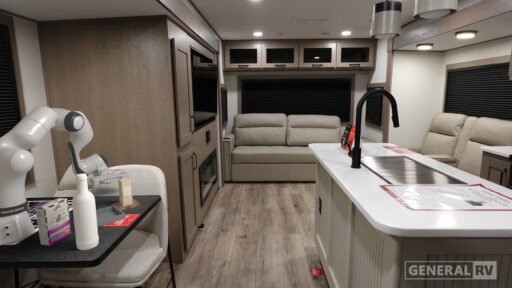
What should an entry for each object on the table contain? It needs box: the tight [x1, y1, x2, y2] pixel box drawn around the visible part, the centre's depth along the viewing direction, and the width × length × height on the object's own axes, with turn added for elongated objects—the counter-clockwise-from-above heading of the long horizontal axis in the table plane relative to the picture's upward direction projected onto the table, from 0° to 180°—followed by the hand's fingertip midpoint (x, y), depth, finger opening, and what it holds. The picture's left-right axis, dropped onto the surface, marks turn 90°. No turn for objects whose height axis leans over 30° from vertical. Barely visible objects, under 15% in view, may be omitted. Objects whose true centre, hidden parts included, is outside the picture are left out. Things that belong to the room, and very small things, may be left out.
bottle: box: [71, 174, 100, 251], centre depth 115 cm, size 8×8×30 cm
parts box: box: [117, 177, 133, 207], centre depth 158 cm, size 5×5×14 cm
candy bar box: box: [34, 197, 73, 247], centre depth 121 cm, size 11×5×16 cm, turn 168°
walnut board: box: [110, 198, 143, 212], centre depth 159 cm, size 12×12×1 cm
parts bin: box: [96, 205, 126, 228], centre depth 142 cm, size 15×15×3 cm
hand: (115, 181), depth 166 cm, fingers open, 8 cm apart
